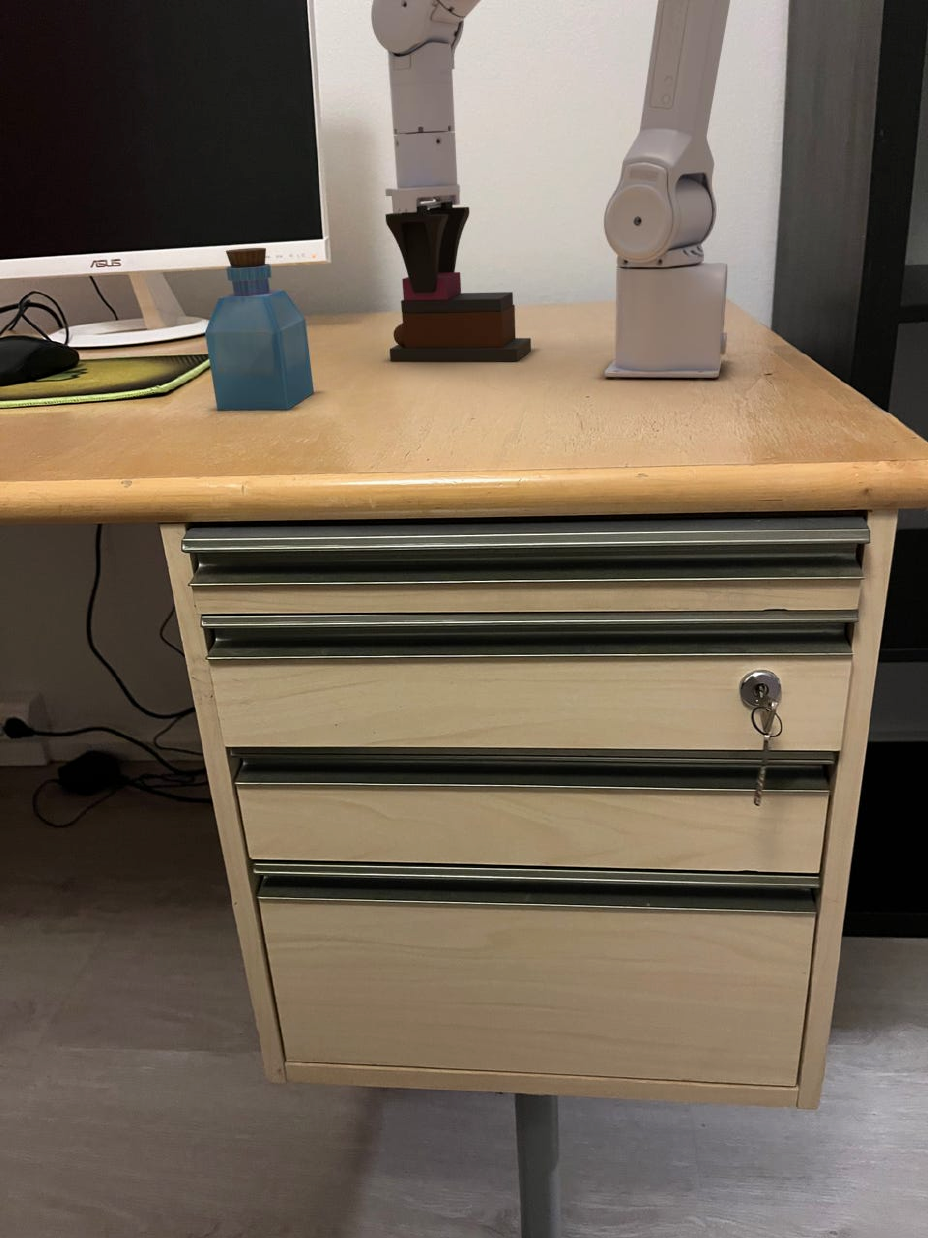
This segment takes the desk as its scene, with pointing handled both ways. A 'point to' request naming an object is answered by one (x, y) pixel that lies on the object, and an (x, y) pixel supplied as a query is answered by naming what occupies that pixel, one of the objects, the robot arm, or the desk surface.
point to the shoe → (459, 337)
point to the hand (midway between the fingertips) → (433, 288)
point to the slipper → (452, 298)
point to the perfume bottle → (257, 341)
